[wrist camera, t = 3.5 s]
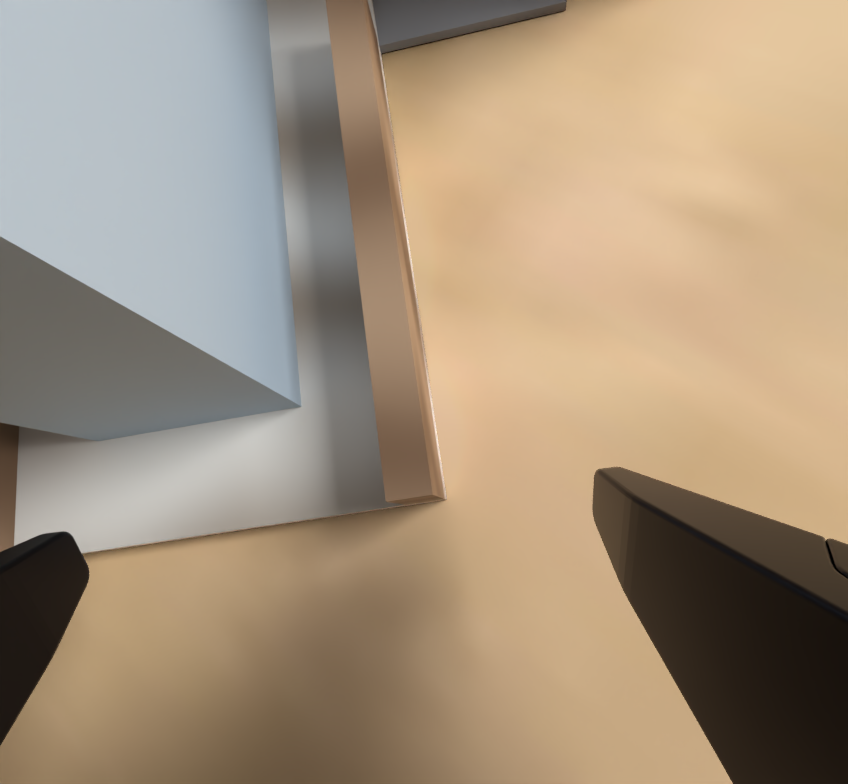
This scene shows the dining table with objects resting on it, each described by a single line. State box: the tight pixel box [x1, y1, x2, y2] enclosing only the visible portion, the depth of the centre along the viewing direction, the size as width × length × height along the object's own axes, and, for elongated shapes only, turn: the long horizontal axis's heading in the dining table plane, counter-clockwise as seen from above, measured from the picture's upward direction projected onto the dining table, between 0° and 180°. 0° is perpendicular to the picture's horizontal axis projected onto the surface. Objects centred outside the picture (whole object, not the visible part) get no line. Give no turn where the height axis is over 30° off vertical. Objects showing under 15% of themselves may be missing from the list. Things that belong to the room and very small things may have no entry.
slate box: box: [0, 0, 302, 441], centre depth 12 cm, size 14×6×10 cm, turn 8°
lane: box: [0, 0, 567, 554], centre depth 16 cm, size 26×25×5 cm
